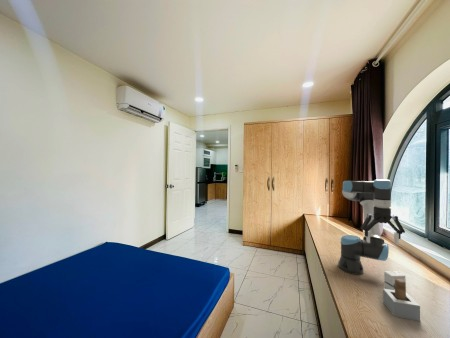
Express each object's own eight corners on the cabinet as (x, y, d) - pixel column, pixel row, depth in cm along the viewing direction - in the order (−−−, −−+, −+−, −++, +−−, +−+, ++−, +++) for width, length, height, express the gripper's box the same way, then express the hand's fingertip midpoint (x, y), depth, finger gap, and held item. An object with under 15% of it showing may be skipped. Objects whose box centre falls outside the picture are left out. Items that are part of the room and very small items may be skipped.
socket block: (383, 301, 98) (383, 288, 98) (406, 305, 95) (406, 292, 95) (394, 316, 88) (394, 301, 88) (420, 321, 85) (420, 305, 85)
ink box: (391, 296, 102) (391, 276, 102) (383, 290, 107) (383, 271, 107) (406, 296, 102) (406, 275, 102) (397, 290, 107) (397, 270, 107)
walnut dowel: (393, 307, 94) (393, 278, 94) (402, 308, 93) (402, 279, 93) (398, 312, 90) (397, 283, 90) (408, 314, 89) (407, 284, 89)
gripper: (359, 207, 103) (359, 243, 103) (414, 209, 96) (413, 248, 96) (354, 204, 110) (354, 238, 111) (404, 206, 103) (404, 242, 104)
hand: (382, 243), depth 103 cm, fingers open, 13 cm apart
